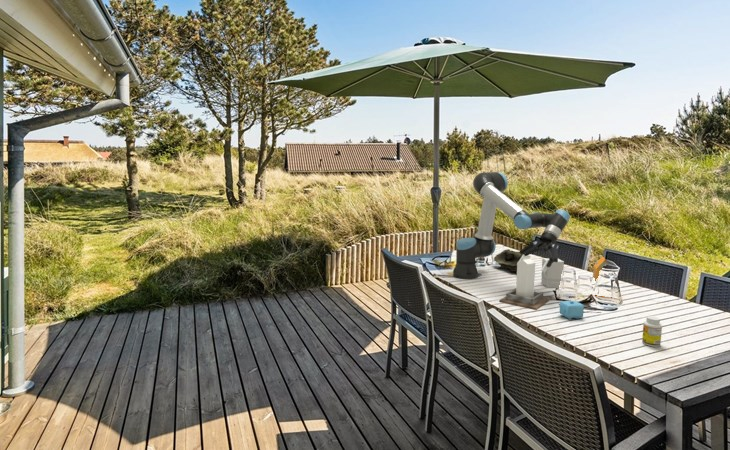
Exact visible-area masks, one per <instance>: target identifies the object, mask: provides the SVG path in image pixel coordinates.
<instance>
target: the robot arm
mask: <svg viewBox="0 0 730 450" xmlns="http://www.w3.org/2000/svg"><path fill="white" fill-rule="evenodd" d="M508 183H509V182H508V178H507V177H506V174H504V173H502V172H499V171H497V172H496V171H490V172H485V171H484V172H480V173H478V174H477V175H475V176H474V178H473V182H472V186H473V189H474V190H475V192H476V193H478V194H479V195H480V196H481V197H482V198H483V199H482V205H481V209H480V216H479V221H478V222H479V223H478V229H477V232H476V233H474V235H473V237H462V238H459V239H457V241H456V247H455V248H456V250H455V251H456V256H455V257H456V260H455V266H454V268H453V271H452V276H453V277H454V278H458V279H463V280H465V279H466V280H472V279H478V277H479V272H478V268H477V265H476V259H480V258H487V257H489V256H491V255H493V253H495V250H496V241H495V240H494V237H493V235H492V232H493V228H494V223H495V217H496V212H497V208H498V209H500V211H502V212H503V213H504V214H506V215H507V216H508V217H509V218H510V219H511V220H513V223H514V225H515V227H516V228H517V229H518V230H527V229H534V228H535V229H536V228H544V230H543V232H542V233H541V234H540V237H539V240H538V241H537V240H535V239H532V241H531V242H530V243H529V244H527V245H526V246H524V247H523V248H521V250H519V252H520V254H521V257H520V258H519V261H521V260H522V259H523V257H524V256H531V255H532V254H533V253H535V252H538V251H541V252H546V253H547V254H546V255H547V256H548V257H547V258H549V259H550V260H549V259H547V261H546V262H545V264H544V266H543V267H542V266H541V269H540V270H541V273H542V272H543V273H545V272H546V270H547V269H548V267H550V266H551V264H552V263H553V262H558V259H559V257H558V256H559V248H560V246H559V245H558V243H557V241H558V239H559V238H560V236H561V234H562V233H563V231H564V229H565V228H566V226H567V224H568V223H569V221H570V219H571V215H570V214H569V212H568V211H566V210H564V209H556V210H555V212H554V213H547V212H545V213H544V212H540V211H539V212H531V213H528V212H527V211H526V210H524V209H523V208H522V207H521V206H519V205H518V204H517V203H515V201H514V200H512V199H511V198H510V197H508V196H507V195H506V194H504V193H503V192H504V191H505V190H507V189H508ZM551 249H553V253H551ZM552 254H553V256H552Z"/></svg>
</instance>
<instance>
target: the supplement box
mask: <svg viewBox="0 0 730 450" xmlns="http://www.w3.org/2000/svg"><path fill="white" fill-rule="evenodd" d="M547 259H549V257H547V258H545V257H543V258H542V259H541V268H542V267H543V266H544V264H545V262H546V261H547ZM549 260H550V259H549ZM564 266H565V261H564V260H561V259H560V258H558V262H553V263H552V264H551V266H550V267H548V269H547V270H546V272H545V273H543V272H542V271H541V279H540V281H541V282H540V283H541V284H542V285H543V286H545V288H560V287H559V285H560V281H561V274H562V270H563V269H564V270H565V267H564Z"/></svg>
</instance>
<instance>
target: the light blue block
mask: <svg viewBox="0 0 730 450" xmlns="http://www.w3.org/2000/svg"><path fill="white" fill-rule="evenodd" d="M556 304H557V305H558V306H559V314H560V315H562V316H563V317H565V318H566V319H568V320H572V319H574V318H575V319H576V320H579V319H580V318H584V308H585V306H584V304H582V303H580V302H578V301H576V300H563V301H559V303H556Z"/></svg>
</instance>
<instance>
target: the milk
mask: <svg viewBox="0 0 730 450" xmlns="http://www.w3.org/2000/svg"><path fill="white" fill-rule="evenodd" d="M535 274H536V262H535V260H533V259H532V258H531V255H528V256H524V257H523V259H522V260H521V261H519V262H517V272H516V288H515V289H516V295H518V296H523V297H528V298H533V297H534V291H535V278H536V275H535Z"/></svg>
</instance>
